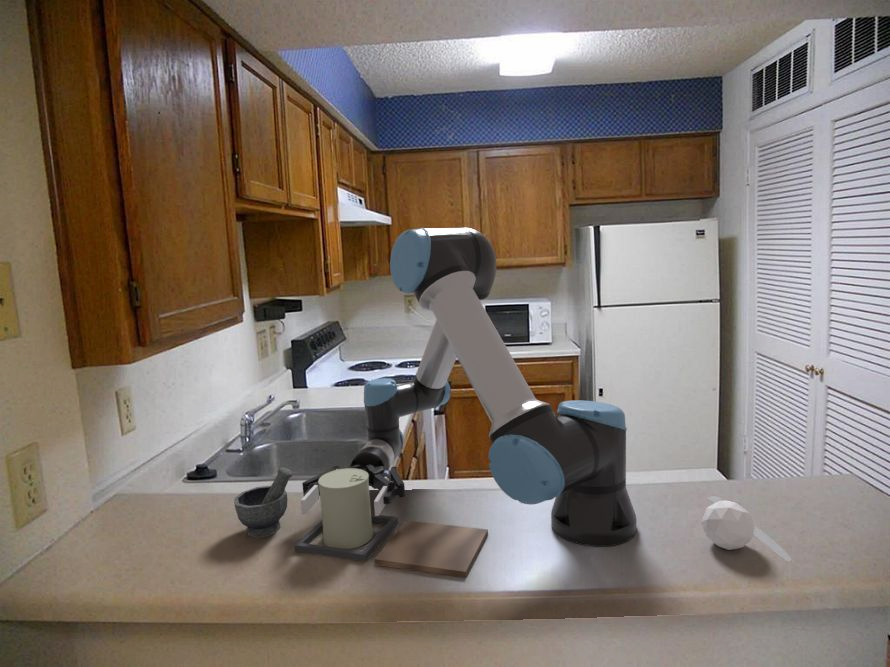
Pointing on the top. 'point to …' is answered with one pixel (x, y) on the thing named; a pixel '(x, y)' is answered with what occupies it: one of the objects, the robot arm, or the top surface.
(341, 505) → the can
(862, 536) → the top surface
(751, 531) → the ball
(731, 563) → the top surface
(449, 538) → the walnut board
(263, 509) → the mortar and pestle
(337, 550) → the grey picture frame
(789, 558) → the butter knife
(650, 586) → the top surface
